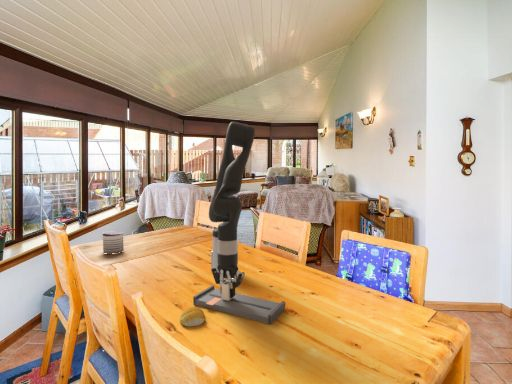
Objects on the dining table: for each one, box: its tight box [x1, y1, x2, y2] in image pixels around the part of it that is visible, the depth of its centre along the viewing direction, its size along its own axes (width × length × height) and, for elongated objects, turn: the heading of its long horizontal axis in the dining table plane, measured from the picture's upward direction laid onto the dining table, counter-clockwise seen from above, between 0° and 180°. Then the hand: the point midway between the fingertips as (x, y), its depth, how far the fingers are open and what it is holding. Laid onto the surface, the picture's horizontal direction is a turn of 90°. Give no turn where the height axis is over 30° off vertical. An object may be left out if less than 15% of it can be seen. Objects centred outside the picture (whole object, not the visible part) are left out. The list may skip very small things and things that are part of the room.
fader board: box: [192, 285, 286, 325], centre depth 118 cm, size 32×13×3 cm, turn 62°
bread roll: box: [179, 306, 206, 328], centre depth 109 cm, size 8×9×4 cm
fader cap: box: [221, 279, 232, 301], centre depth 121 cm, size 3×4×6 cm
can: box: [102, 230, 125, 254], centre depth 188 cm, size 11×11×12 cm
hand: (227, 296), depth 121 cm, fingers closed on fader cap, 3 cm apart
